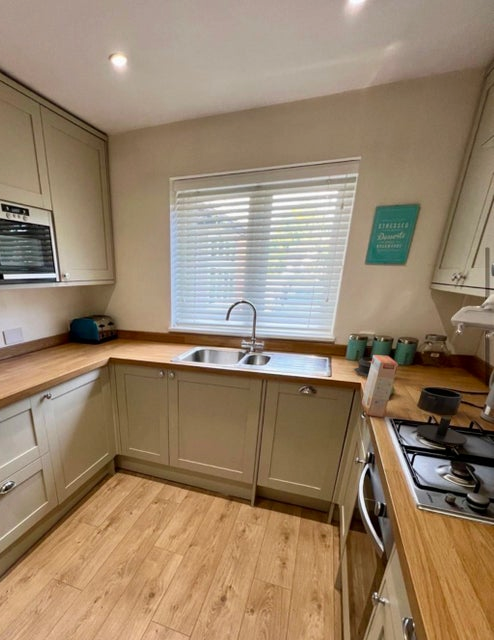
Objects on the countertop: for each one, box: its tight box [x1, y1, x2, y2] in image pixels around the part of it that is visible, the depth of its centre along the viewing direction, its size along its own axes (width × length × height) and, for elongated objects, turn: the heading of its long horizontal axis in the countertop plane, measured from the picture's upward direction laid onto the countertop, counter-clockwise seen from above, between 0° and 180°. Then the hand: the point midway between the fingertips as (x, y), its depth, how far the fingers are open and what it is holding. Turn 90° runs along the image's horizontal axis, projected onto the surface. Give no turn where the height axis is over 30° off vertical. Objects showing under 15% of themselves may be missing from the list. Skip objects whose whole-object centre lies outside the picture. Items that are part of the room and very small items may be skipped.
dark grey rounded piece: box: [354, 356, 373, 378], centre depth 177 cm, size 25×19×8 cm
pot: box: [416, 386, 464, 419], centre depth 128 cm, size 12×18×8 cm
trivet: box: [416, 433, 457, 448], centre depth 107 cm, size 10×10×1 cm
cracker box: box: [361, 354, 399, 418], centre depth 126 cm, size 14×6×21 cm, turn 161°
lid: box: [416, 416, 468, 446], centre depth 106 cm, size 13×13×7 cm
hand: (472, 336), depth 118 cm, fingers open, 8 cm apart
